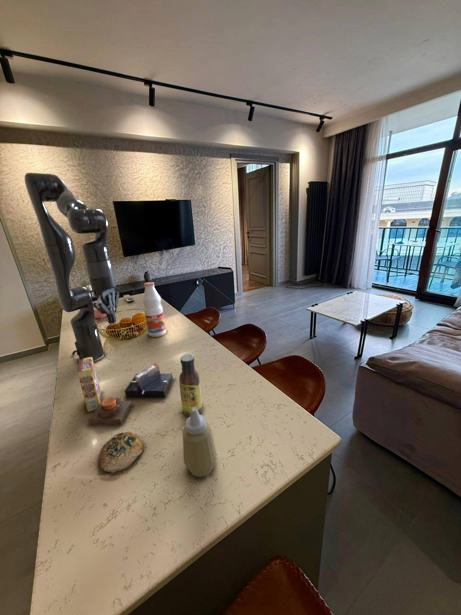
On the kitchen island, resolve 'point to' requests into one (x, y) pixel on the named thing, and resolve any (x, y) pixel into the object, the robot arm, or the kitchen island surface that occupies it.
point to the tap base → (150, 388)
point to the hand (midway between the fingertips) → (112, 322)
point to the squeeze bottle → (198, 445)
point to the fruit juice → (153, 311)
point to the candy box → (89, 383)
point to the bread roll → (120, 452)
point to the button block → (111, 413)
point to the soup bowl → (97, 313)
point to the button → (109, 403)
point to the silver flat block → (147, 376)
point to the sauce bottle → (189, 385)
